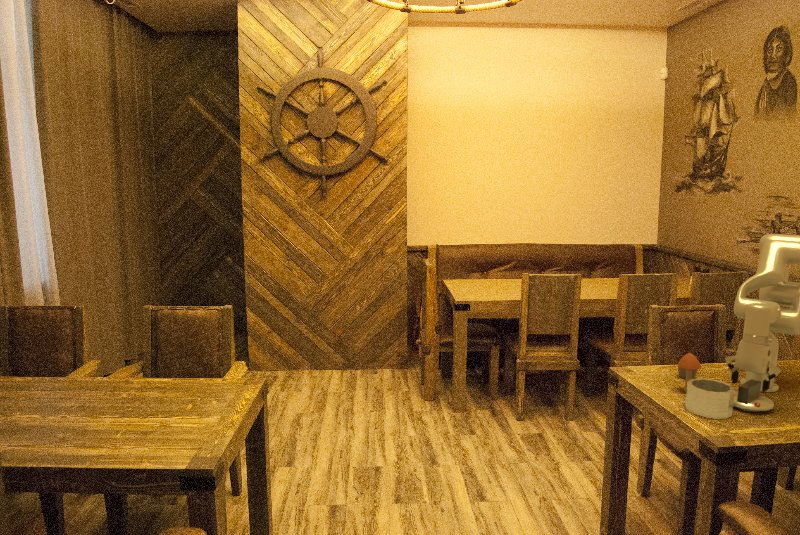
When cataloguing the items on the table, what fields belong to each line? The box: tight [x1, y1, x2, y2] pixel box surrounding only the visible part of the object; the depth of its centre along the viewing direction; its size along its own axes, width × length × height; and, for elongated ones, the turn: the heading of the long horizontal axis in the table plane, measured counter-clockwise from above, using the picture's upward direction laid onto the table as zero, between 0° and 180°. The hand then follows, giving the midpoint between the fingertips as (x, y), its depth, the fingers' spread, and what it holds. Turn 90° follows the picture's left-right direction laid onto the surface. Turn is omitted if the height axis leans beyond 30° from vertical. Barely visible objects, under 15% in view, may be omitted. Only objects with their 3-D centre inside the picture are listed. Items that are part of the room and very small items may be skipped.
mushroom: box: [677, 352, 702, 393], centre depth 224 cm, size 8×8×15 cm
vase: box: [677, 365, 698, 380], centre depth 239 cm, size 7×7×9 cm
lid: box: [733, 379, 775, 413], centre depth 211 cm, size 15×15×8 cm
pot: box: [684, 377, 736, 420], centre depth 207 cm, size 14×14×9 cm
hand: (749, 386), depth 210 cm, fingers open, 9 cm apart
